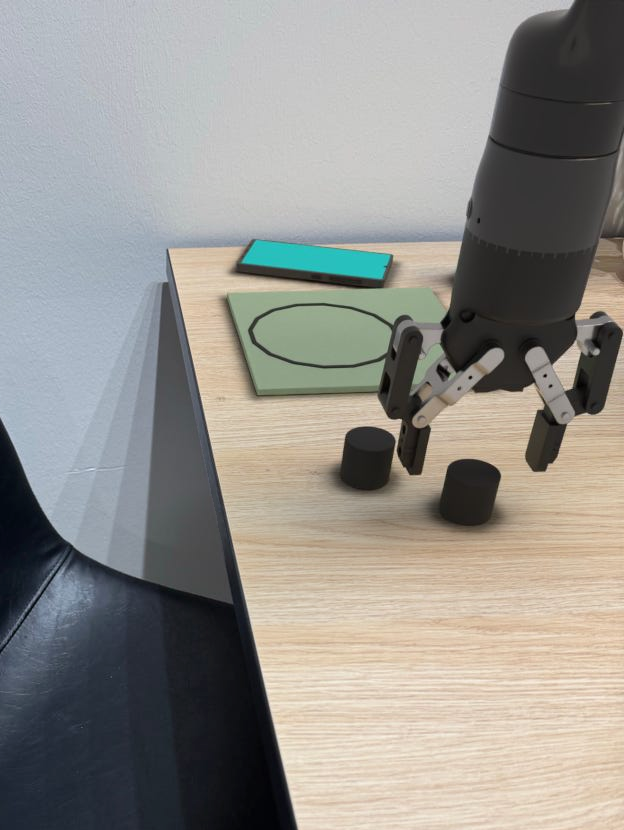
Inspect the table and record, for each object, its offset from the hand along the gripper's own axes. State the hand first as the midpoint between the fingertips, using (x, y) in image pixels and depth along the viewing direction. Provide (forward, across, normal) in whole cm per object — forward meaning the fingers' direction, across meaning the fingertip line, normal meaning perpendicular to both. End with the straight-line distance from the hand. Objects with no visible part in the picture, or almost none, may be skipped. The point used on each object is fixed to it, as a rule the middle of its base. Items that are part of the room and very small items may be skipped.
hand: (473, 467), depth 70 cm
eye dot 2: (+4, 0, 0) cm, 4 cm away
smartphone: (+3, -2, +45) cm, 45 cm away
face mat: (+4, -2, +28) cm, 29 cm away
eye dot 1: (+4, -6, +5) cm, 9 cm away
